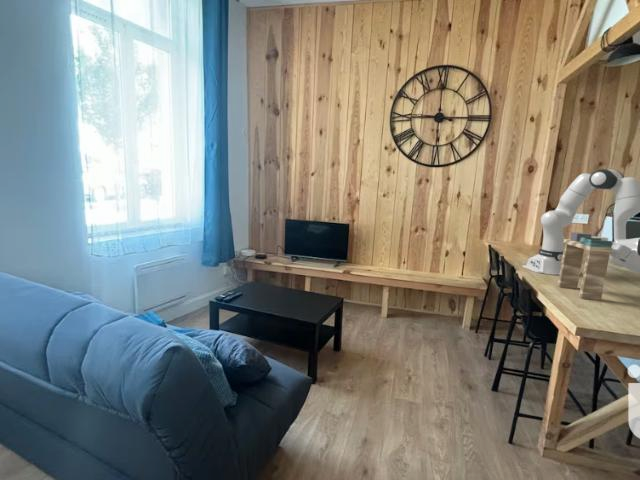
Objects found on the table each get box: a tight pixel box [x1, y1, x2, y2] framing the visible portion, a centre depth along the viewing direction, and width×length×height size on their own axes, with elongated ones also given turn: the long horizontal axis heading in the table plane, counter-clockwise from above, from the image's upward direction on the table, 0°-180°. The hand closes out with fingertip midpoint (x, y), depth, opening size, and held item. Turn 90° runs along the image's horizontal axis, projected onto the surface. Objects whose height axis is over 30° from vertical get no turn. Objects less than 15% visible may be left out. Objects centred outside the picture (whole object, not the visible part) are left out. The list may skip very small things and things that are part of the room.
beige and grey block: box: [569, 231, 609, 242], centre depth 183 cm, size 16×5×4 cm, turn 86°
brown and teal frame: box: [557, 237, 612, 301], centre depth 180 cm, size 20×10×29 cm, turn 176°
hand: (597, 238), depth 183 cm, fingers closed on beige and grey block, 3 cm apart
